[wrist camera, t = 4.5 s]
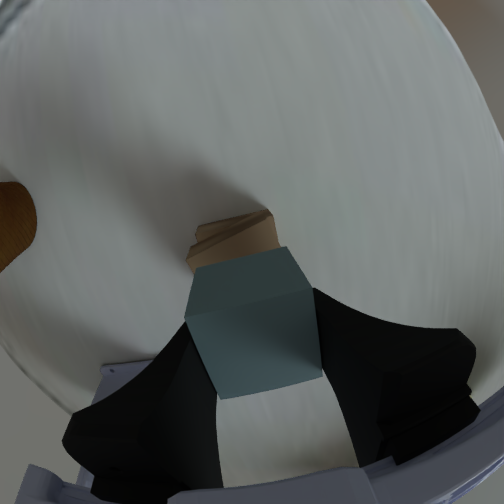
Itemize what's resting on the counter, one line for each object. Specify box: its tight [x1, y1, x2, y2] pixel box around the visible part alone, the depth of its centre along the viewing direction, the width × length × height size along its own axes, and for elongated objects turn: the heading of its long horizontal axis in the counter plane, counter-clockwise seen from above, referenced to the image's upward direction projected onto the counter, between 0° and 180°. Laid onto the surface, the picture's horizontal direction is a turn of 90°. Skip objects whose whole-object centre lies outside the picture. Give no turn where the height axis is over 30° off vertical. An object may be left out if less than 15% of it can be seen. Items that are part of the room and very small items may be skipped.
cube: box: [184, 246, 323, 399], centre depth 11 cm, size 4×4×4 cm
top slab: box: [186, 210, 281, 274], centre depth 17 cm, size 5×5×2 cm
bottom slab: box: [195, 209, 278, 242], centre depth 19 cm, size 5×5×2 cm
